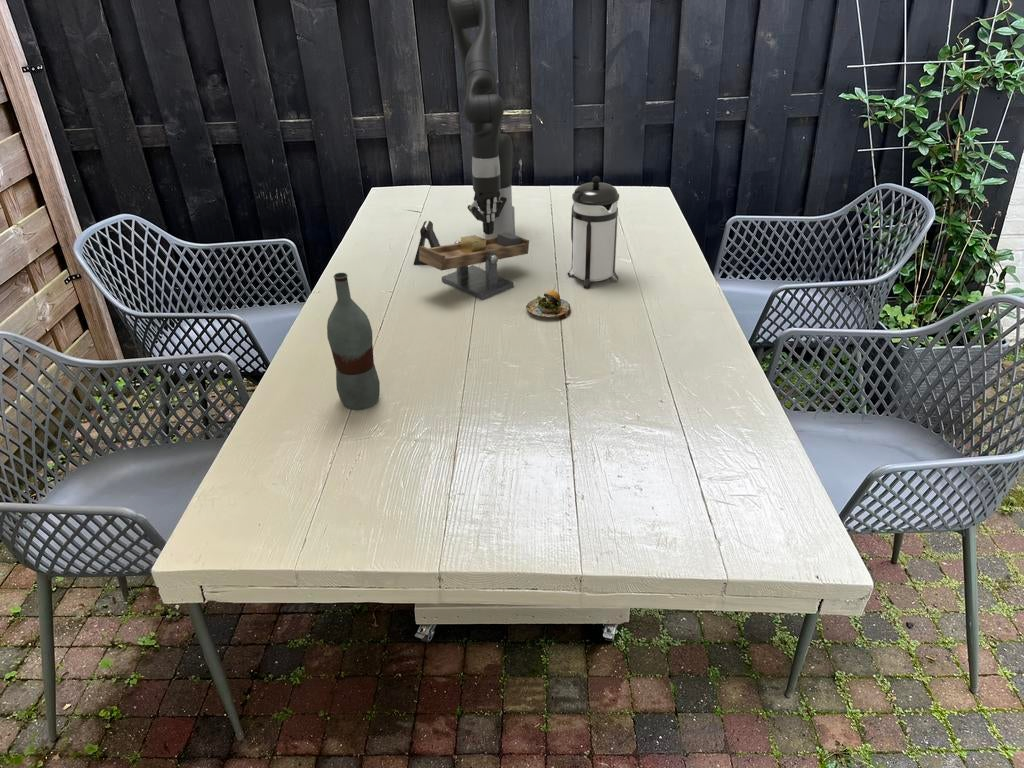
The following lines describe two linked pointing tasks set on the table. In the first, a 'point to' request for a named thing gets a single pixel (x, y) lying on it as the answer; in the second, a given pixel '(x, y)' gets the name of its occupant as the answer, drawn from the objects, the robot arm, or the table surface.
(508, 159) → the robot arm
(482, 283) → the pivot stand
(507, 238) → the block
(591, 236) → the coffee press
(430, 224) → the phone stand
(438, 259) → the beam
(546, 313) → the burger
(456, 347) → the table surface
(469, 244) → the brass block
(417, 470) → the table surface
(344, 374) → the bottle
